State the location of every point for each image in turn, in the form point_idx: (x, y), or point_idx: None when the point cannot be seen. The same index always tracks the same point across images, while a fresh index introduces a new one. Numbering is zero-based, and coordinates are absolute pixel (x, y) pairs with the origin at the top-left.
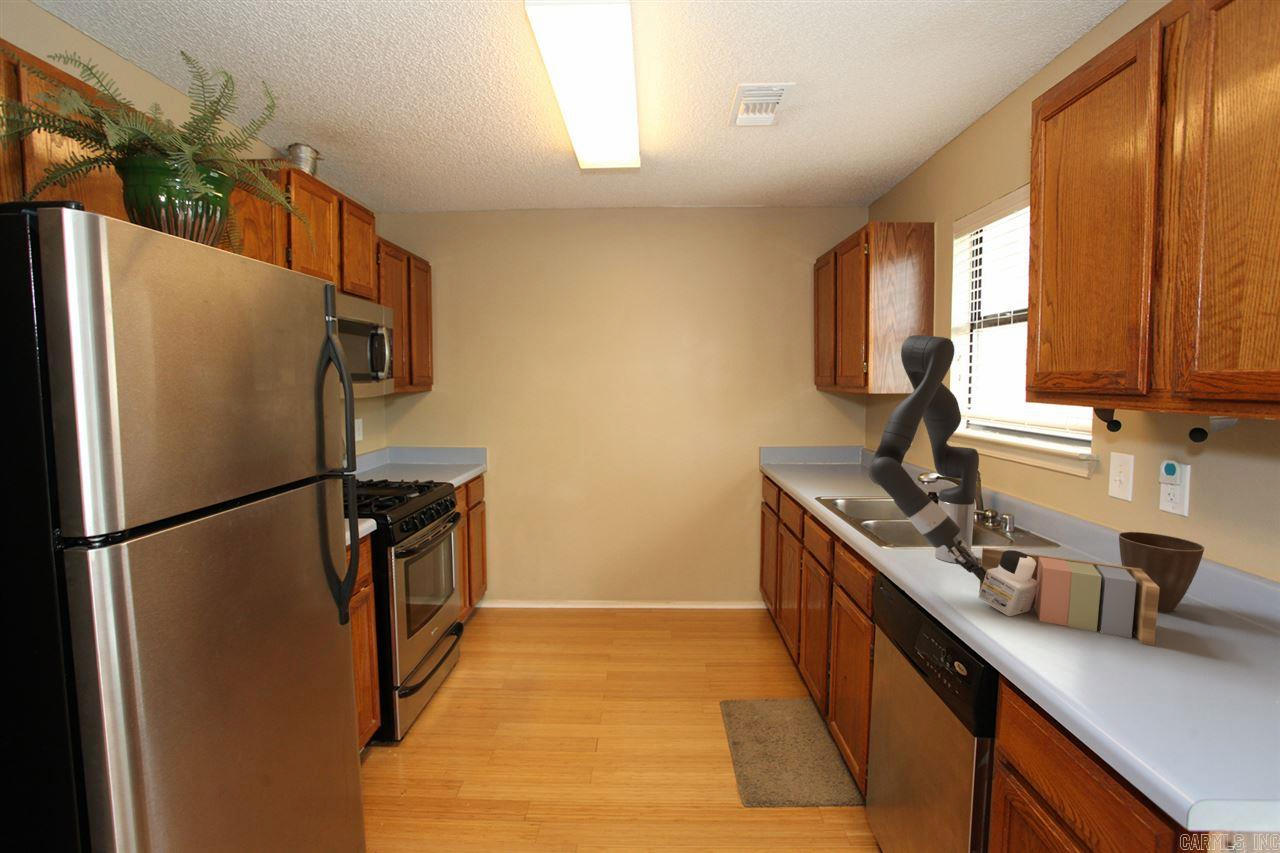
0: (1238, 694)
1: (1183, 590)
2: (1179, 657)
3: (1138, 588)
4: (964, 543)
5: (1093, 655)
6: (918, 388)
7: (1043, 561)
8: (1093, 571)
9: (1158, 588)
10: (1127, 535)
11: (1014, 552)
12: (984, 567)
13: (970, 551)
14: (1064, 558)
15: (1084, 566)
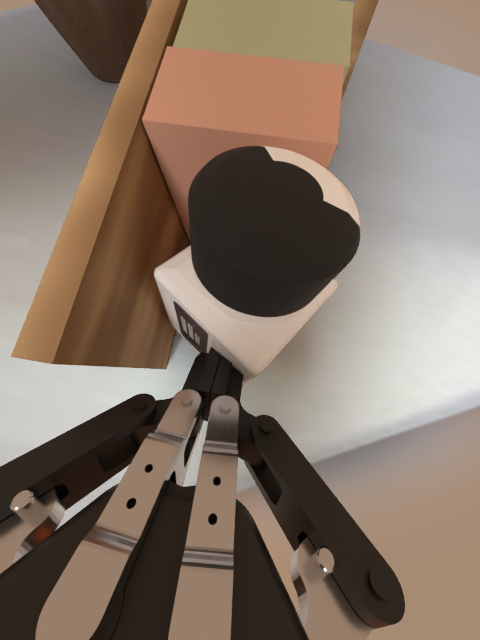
0: (467, 93)
1: None
2: (361, 109)
3: None
4: (116, 582)
5: (431, 224)
6: None
7: (219, 120)
8: (295, 6)
9: None
10: None
11: (266, 206)
12: (124, 355)
13: (163, 477)
14: (139, 39)
15: (234, 13)
